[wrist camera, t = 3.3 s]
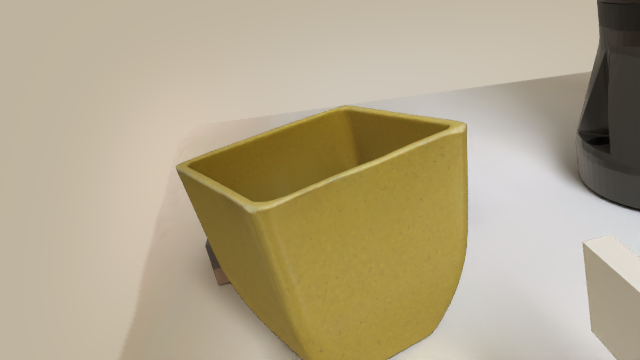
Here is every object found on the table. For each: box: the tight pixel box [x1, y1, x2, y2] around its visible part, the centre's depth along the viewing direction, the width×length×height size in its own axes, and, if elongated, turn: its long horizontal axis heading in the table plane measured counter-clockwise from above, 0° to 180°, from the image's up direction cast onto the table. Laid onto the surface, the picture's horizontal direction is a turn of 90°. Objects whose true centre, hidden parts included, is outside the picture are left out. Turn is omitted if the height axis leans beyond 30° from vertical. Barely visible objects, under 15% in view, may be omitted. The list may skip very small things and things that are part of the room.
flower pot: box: [176, 105, 468, 360], centre depth 25 cm, size 9×9×9 cm
